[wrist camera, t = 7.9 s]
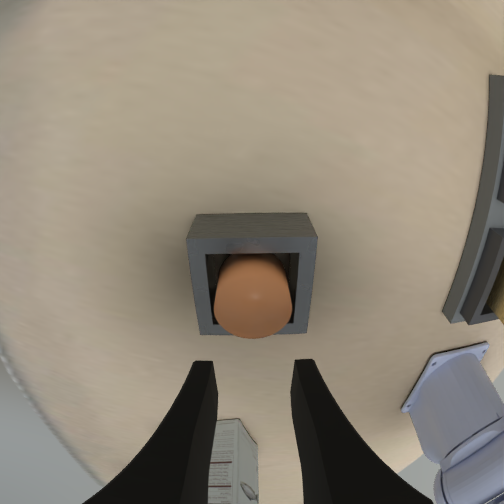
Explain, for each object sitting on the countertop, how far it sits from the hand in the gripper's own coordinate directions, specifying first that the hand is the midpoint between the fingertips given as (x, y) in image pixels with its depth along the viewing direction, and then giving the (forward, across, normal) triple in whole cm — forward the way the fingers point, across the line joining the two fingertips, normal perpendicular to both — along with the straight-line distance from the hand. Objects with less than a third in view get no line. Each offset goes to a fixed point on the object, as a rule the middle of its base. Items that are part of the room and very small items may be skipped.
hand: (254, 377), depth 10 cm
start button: (+7, 0, 0) cm, 7 cm away
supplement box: (+9, +4, +22) cm, 24 cm away
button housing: (+8, 0, 0) cm, 8 cm away
